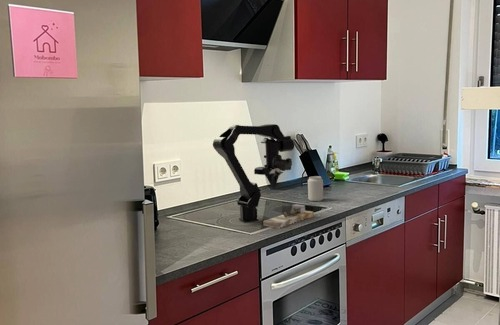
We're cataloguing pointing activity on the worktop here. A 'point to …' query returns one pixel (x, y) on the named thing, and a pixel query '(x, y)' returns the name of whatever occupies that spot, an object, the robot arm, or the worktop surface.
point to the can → (315, 188)
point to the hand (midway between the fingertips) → (273, 188)
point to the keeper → (301, 208)
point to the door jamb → (287, 219)
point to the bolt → (289, 210)
